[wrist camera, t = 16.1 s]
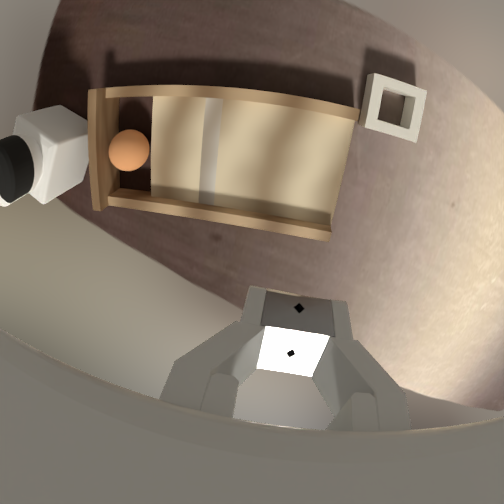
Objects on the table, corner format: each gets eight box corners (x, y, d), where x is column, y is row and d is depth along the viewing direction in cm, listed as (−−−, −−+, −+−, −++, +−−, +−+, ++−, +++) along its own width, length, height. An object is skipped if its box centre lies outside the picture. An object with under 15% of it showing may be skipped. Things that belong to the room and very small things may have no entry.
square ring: (415, 90, 20) (426, 90, 18) (406, 138, 22) (416, 142, 20) (367, 74, 20) (374, 72, 18) (358, 124, 22) (364, 127, 20)
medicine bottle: (61, 103, 24) (-22, 127, 14) (102, 128, 26) (17, 160, 15) (46, 155, 28) (-27, 192, 18) (83, 182, 29) (10, 229, 19)
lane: (354, 108, 22) (364, 110, 18) (326, 229, 28) (330, 250, 25) (112, 87, 23) (88, 89, 20) (113, 195, 29) (93, 209, 26)
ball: (140, 133, 22) (100, 133, 22) (139, 178, 24) (101, 175, 24) (156, 127, 25) (120, 126, 25) (154, 165, 27) (120, 163, 27)
